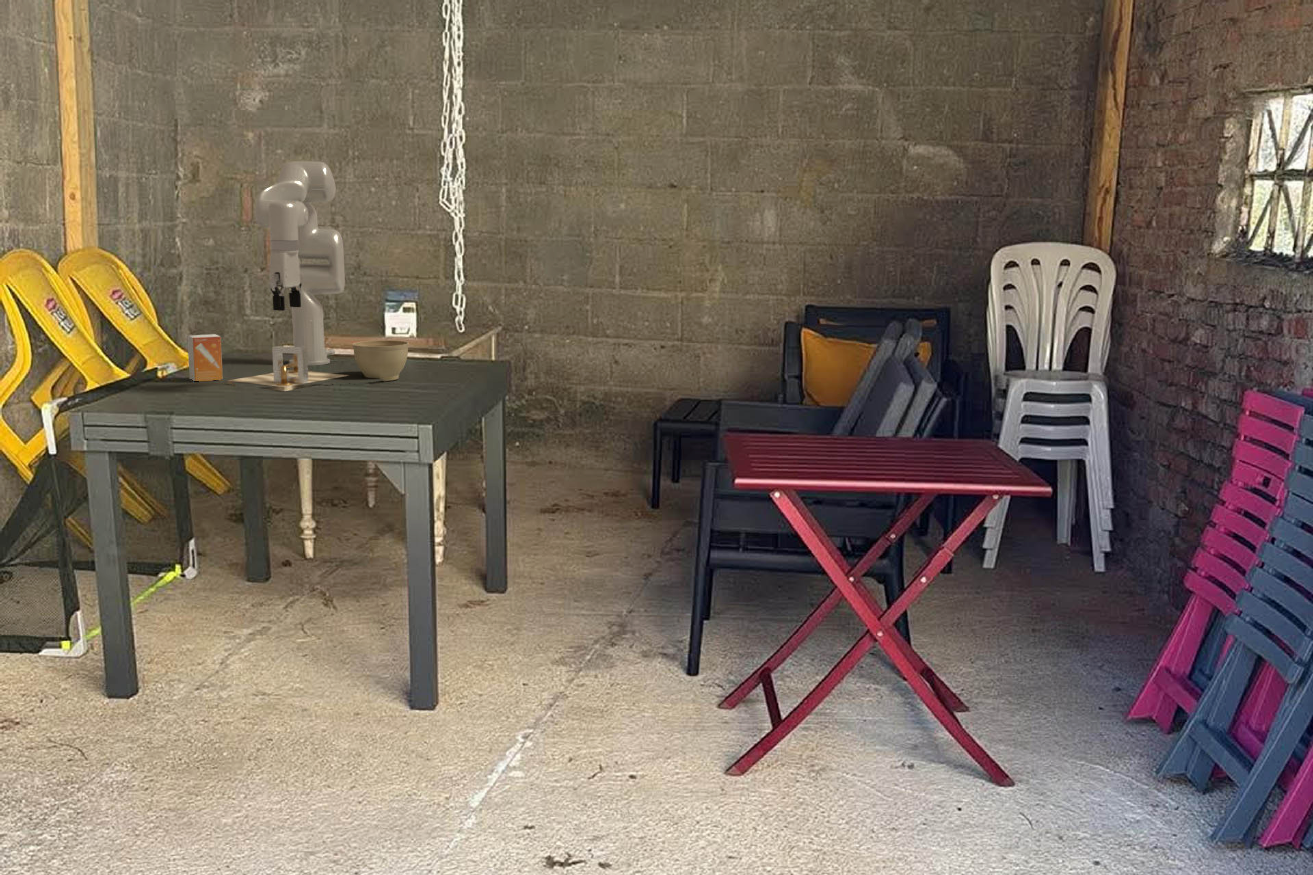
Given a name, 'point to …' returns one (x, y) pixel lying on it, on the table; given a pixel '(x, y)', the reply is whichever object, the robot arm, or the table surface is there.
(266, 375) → the base board
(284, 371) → the brass faucet
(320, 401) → the table surface
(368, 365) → the planter bowl
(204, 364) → the small box
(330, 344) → the table surface
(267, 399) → the table surface
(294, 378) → the white square frame
